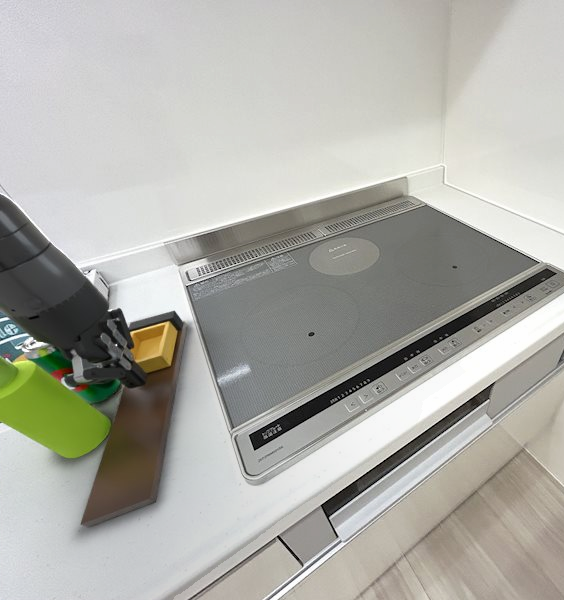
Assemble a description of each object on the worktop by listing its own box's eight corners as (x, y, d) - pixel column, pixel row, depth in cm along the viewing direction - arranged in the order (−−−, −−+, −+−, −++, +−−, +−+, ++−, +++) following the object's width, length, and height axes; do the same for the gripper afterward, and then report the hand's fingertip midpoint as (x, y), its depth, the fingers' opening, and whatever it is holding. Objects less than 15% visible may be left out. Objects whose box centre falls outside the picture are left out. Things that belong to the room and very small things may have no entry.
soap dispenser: (108, 404, 49) (-16, 305, 36) (113, 438, 45) (-26, 340, 32) (60, 429, 47) (-93, 334, 33) (61, 468, 42) (-114, 376, 29)
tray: (170, 365, 52) (161, 355, 50) (128, 378, 50) (117, 368, 49) (177, 331, 57) (169, 320, 56) (139, 342, 56) (130, 331, 54)
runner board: (155, 501, 38) (149, 498, 38) (87, 527, 37) (80, 524, 36) (187, 325, 61) (184, 320, 60) (145, 337, 59) (141, 332, 58)
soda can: (129, 384, 52) (71, 332, 44) (94, 410, 48) (25, 359, 40) (113, 372, 54) (55, 320, 46) (78, 396, 51) (10, 345, 43)
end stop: (182, 329, 58) (173, 317, 56) (138, 342, 57) (127, 330, 55) (183, 322, 60) (174, 310, 58) (141, 334, 58) (130, 322, 56)
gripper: (32, 268, 40) (123, 357, 52) (-34, 343, 31) (95, 433, 42) (101, 252, 42) (174, 342, 53) (58, 319, 32) (159, 412, 44)
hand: (139, 382), depth 48 cm, fingers closed
